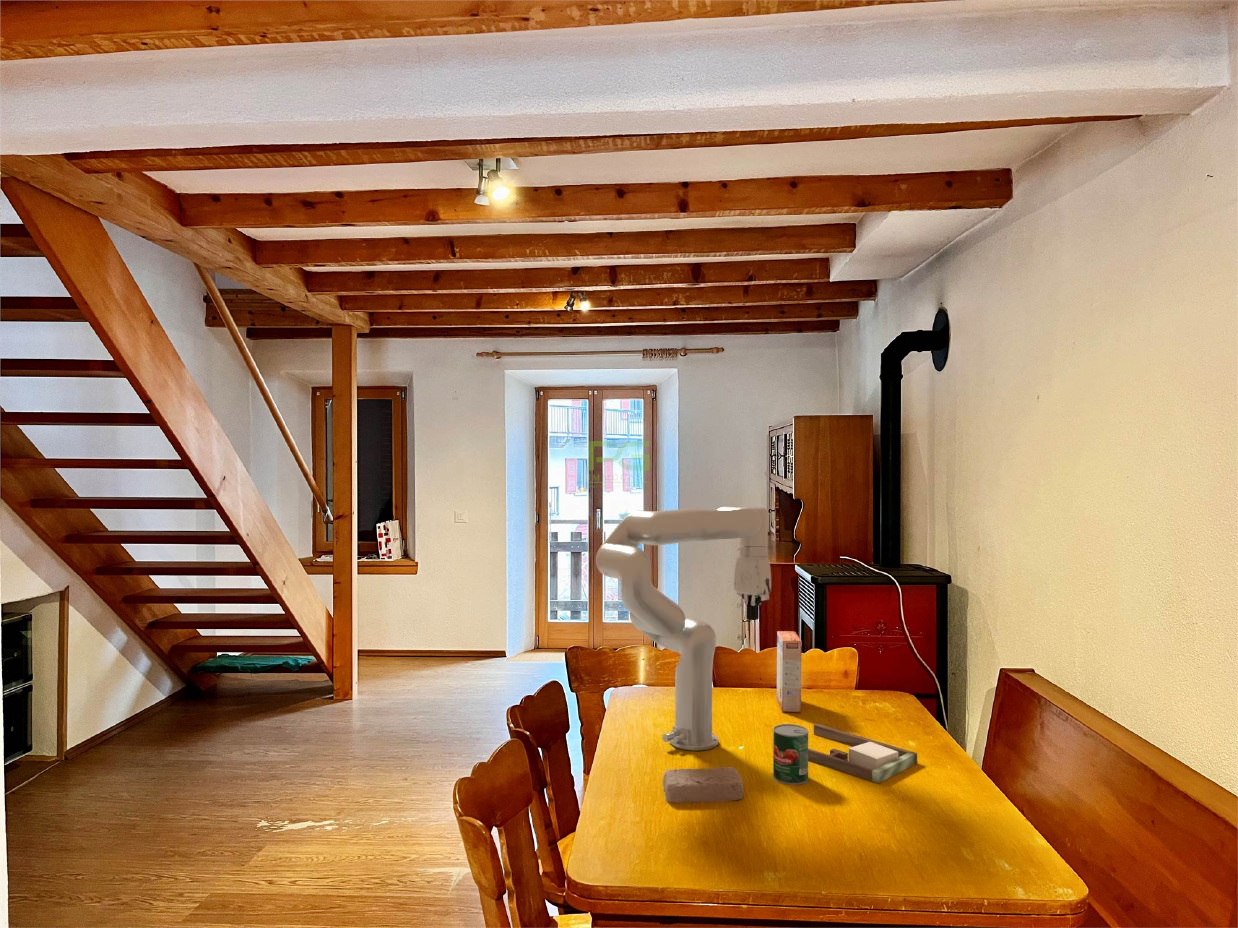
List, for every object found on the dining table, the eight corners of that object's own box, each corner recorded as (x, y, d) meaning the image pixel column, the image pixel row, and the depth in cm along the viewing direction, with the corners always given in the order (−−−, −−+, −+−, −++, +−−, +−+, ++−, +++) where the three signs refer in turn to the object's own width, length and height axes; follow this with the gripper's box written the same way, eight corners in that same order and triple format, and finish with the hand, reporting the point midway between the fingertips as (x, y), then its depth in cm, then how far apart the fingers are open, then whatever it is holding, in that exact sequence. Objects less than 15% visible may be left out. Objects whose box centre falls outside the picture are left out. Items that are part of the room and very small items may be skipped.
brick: (666, 804, 161) (667, 782, 161) (662, 787, 169) (662, 766, 169) (744, 803, 162) (744, 780, 162) (735, 786, 170) (736, 765, 170)
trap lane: (878, 783, 171) (878, 772, 171) (776, 749, 192) (775, 739, 192) (917, 762, 183) (917, 752, 183) (816, 732, 204) (816, 723, 204)
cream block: (876, 776, 176) (876, 758, 176) (848, 764, 182) (848, 748, 182) (898, 768, 180) (898, 751, 180) (870, 757, 187) (870, 741, 187)
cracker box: (802, 713, 220) (802, 640, 220) (781, 712, 220) (781, 640, 221) (796, 698, 234) (796, 630, 234) (776, 698, 234) (776, 630, 235)
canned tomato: (770, 781, 172) (770, 733, 172) (775, 768, 179) (775, 722, 179) (806, 787, 169) (806, 737, 169) (810, 773, 176) (810, 726, 176)
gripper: (724, 550, 212) (723, 616, 212) (765, 555, 200) (764, 625, 200) (742, 549, 216) (741, 613, 216) (783, 554, 205) (783, 622, 204)
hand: (752, 619), depth 208 cm, fingers closed
